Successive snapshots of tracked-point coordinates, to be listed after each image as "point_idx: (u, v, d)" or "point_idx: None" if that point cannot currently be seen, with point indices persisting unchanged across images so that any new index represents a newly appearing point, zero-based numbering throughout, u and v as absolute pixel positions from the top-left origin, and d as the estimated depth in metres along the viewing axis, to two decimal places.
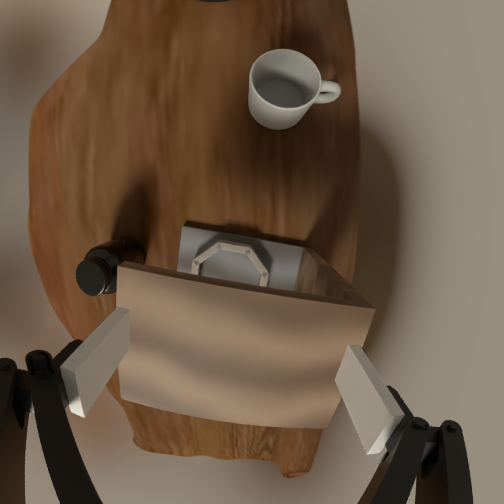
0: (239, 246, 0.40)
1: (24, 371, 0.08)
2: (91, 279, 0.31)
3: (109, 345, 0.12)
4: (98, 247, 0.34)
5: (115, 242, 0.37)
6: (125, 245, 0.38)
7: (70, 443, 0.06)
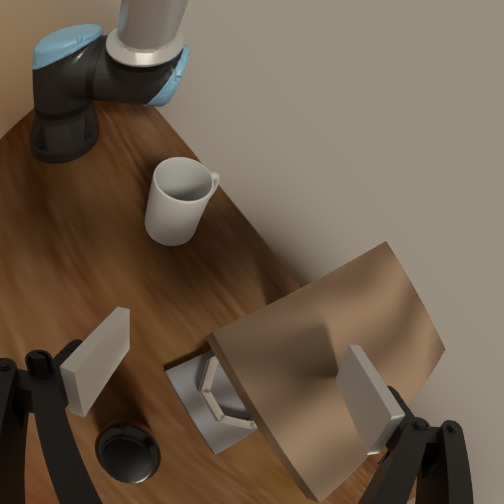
0: None
1: (24, 371, 0.08)
2: (129, 460, 0.18)
3: (109, 345, 0.12)
4: (105, 429, 0.21)
5: (115, 421, 0.24)
6: (127, 419, 0.25)
7: (70, 444, 0.06)
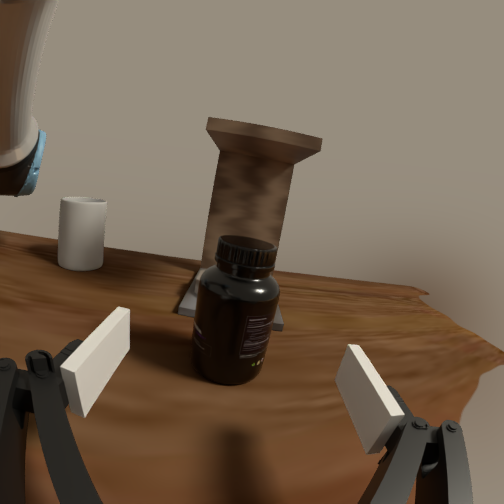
0: (200, 273, 0.42)
1: (24, 371, 0.08)
2: (248, 241, 0.23)
3: (109, 345, 0.12)
4: (201, 277, 0.23)
5: None
6: None
7: (70, 444, 0.06)
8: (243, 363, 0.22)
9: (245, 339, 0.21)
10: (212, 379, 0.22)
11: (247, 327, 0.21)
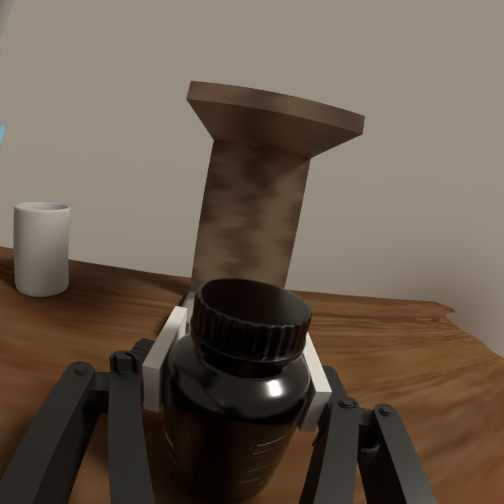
0: (186, 305, 0.30)
1: (99, 373, 0.10)
2: (256, 295, 0.12)
3: None
4: (167, 361, 0.11)
5: None
6: None
7: (139, 443, 0.07)
8: (246, 487, 0.10)
9: (249, 466, 0.10)
10: (197, 498, 0.11)
11: (253, 453, 0.10)
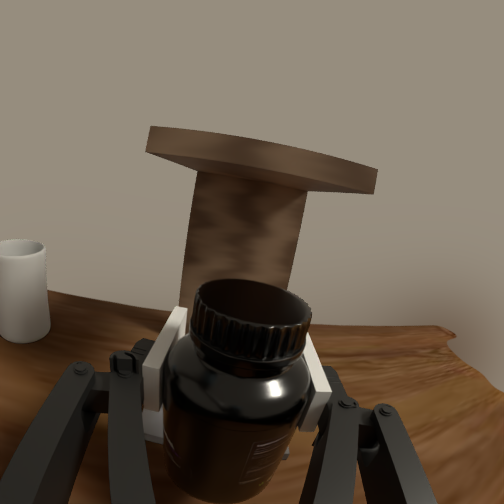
0: None
1: (99, 373, 0.10)
2: (256, 296, 0.12)
3: None
4: (167, 361, 0.11)
5: None
6: None
7: (139, 443, 0.07)
8: (246, 487, 0.10)
9: (249, 467, 0.10)
10: (197, 498, 0.11)
11: (253, 454, 0.10)
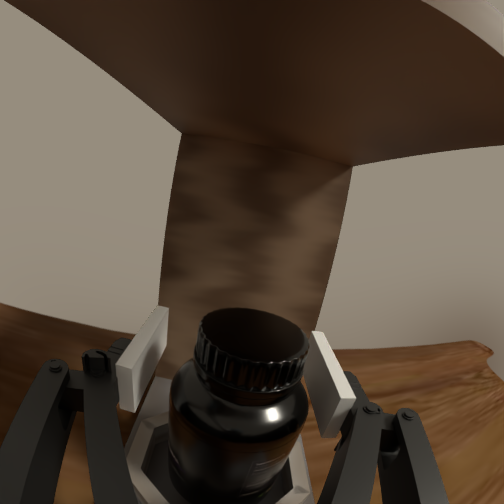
0: (137, 436, 0.14)
1: (74, 371, 0.10)
2: (256, 327, 0.12)
3: (154, 342, 0.14)
4: (172, 386, 0.12)
5: None
6: None
7: (116, 442, 0.06)
8: (246, 499, 0.11)
9: (248, 481, 0.10)
10: None
11: (253, 470, 0.10)
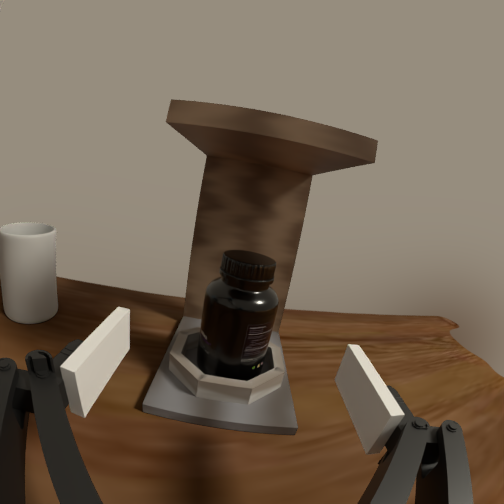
0: (177, 338, 0.28)
1: (24, 371, 0.08)
2: (250, 256, 0.25)
3: (109, 345, 0.12)
4: (207, 288, 0.25)
5: None
6: None
7: (70, 443, 0.06)
8: (245, 366, 0.24)
9: (246, 345, 0.24)
10: None
11: (248, 334, 0.23)
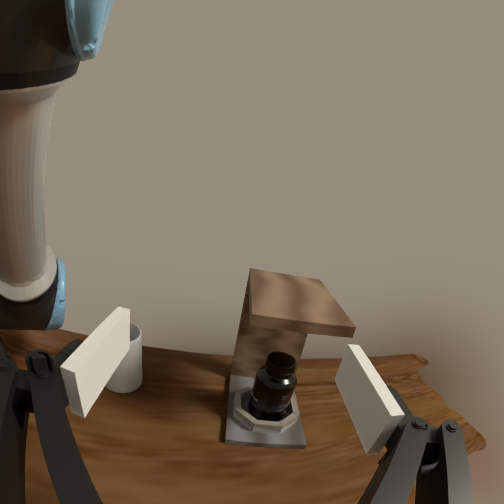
0: (236, 397, 0.45)
1: (24, 371, 0.08)
2: (282, 358, 0.43)
3: (109, 345, 0.12)
4: (258, 375, 0.42)
5: None
6: None
7: (70, 443, 0.06)
8: (278, 413, 0.41)
9: (279, 404, 0.41)
10: None
11: (281, 399, 0.40)
